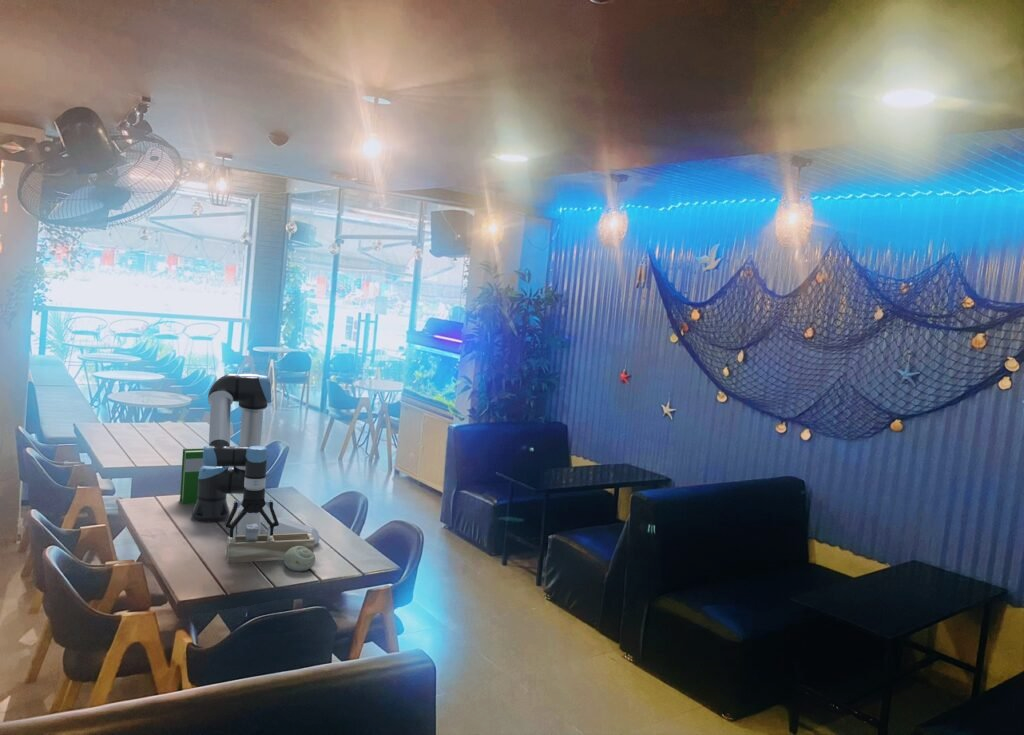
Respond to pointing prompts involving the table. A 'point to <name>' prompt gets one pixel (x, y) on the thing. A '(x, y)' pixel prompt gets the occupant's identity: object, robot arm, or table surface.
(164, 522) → the table surface
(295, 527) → the crystal
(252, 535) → the pale blue pillar block
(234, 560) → the well block
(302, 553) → the seashell
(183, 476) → the hardback book
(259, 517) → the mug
